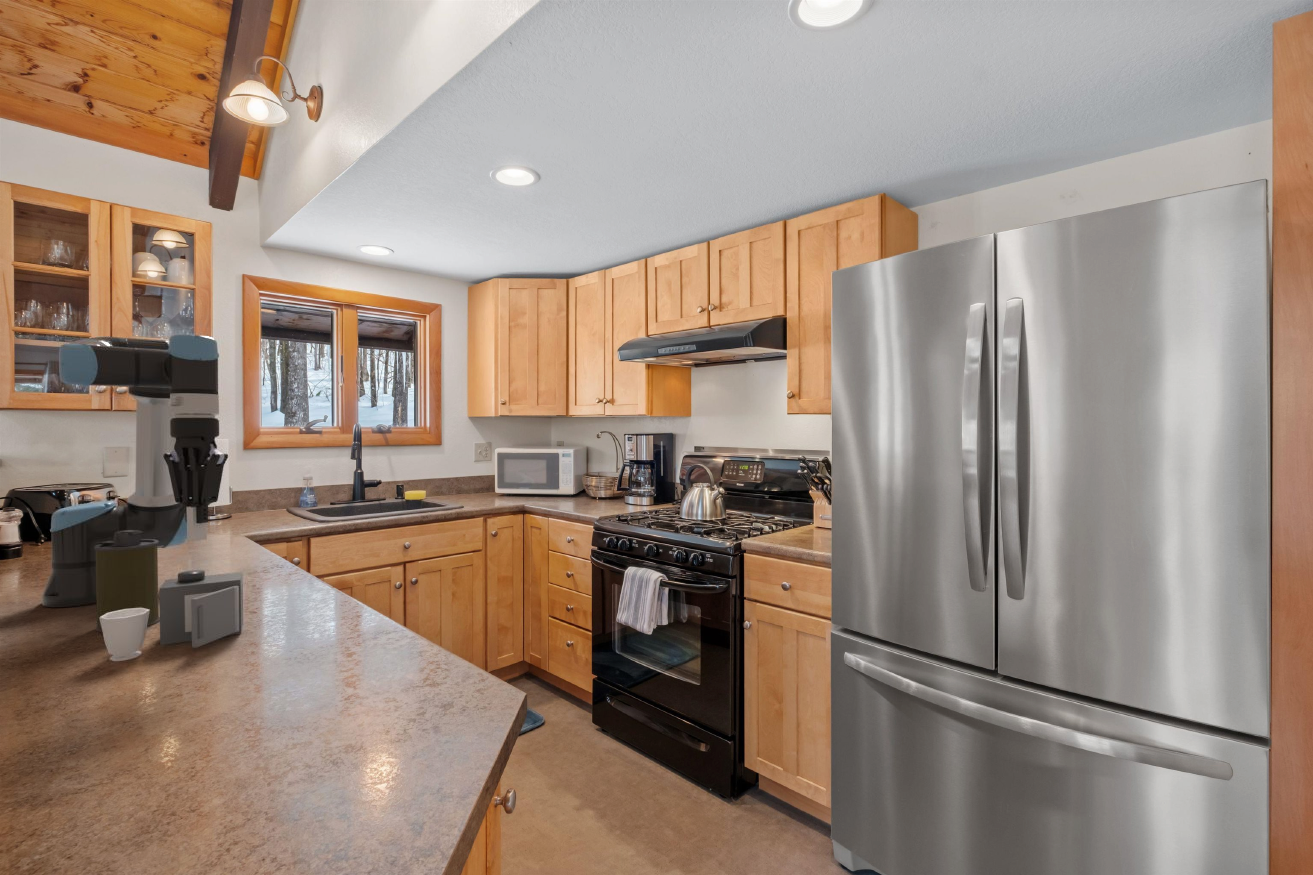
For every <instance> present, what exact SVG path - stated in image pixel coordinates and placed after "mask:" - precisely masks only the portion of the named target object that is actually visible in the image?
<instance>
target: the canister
mask: <svg viewBox="0 0 1313 875" xmlns="http://www.w3.org/2000/svg"><path fill="white" fill-rule="evenodd" d="M141 534H142V531H140V530H125V531H119V532H115V533H114V538H113V541H106V542H101V543H99V544H98V545H96V546H95V547H94V549H95V550H96V594H97V603H96V627H95V631H96V632H99V633H103V631H102V627H101V623H100V618H99V617H101V616H103V615H105V614H106V613H109V612H113V611H118V610H122V609H131V608H145V609H149V610H150V612H149V618H148V623H147V627H150V626H152V625H155V624H157V623H158V622H160V608H159V566H158V565H159V563H158V561H159V560H158V559H159V558H158V557H159V556H158V548H157V544H158V542H159V541H158V540H155V539H141Z"/></svg>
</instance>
